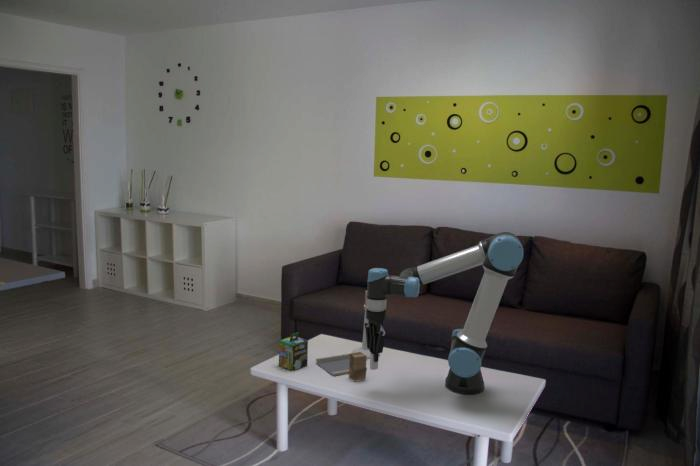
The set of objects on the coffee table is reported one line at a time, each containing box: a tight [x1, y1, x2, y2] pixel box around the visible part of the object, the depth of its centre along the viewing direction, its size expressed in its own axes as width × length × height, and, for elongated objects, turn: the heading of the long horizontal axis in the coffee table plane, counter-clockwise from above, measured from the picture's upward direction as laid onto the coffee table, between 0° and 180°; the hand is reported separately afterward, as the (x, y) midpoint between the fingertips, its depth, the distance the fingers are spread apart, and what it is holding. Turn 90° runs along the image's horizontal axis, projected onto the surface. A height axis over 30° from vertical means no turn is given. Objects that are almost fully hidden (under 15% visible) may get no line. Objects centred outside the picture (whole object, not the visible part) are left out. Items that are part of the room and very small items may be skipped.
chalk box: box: [278, 331, 309, 372], centre depth 245 cm, size 9×9×15 cm
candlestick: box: [351, 290, 381, 360], centre depth 261 cm, size 13×13×30 cm
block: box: [348, 352, 367, 382], centre depth 233 cm, size 5×5×10 cm
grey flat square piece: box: [315, 353, 368, 377], centre depth 246 cm, size 16×16×2 cm
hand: (373, 368), depth 222 cm, fingers closed
